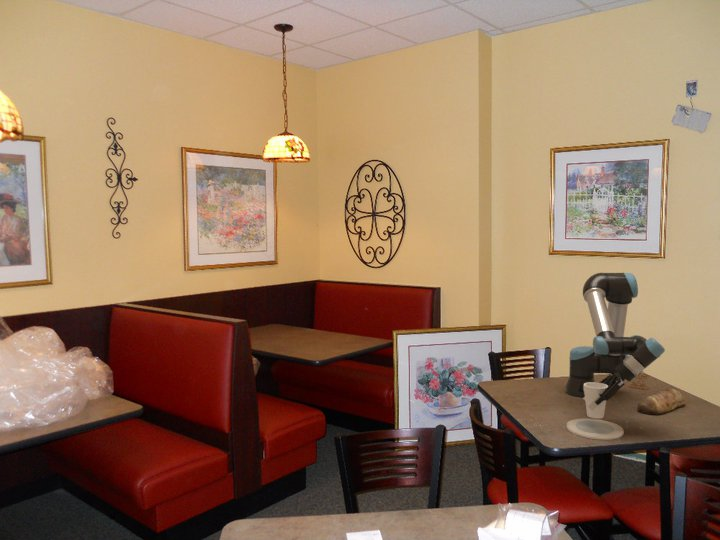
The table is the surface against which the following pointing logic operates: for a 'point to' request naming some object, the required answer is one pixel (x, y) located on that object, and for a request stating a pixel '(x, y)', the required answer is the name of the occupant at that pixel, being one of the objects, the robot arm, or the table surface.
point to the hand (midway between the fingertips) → (587, 404)
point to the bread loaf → (661, 402)
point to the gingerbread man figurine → (640, 383)
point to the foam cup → (591, 393)
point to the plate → (595, 429)
